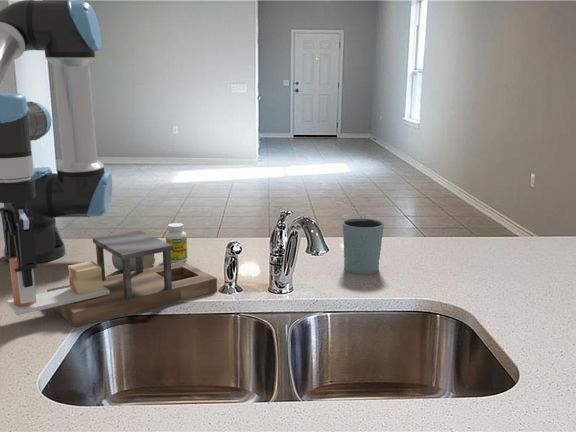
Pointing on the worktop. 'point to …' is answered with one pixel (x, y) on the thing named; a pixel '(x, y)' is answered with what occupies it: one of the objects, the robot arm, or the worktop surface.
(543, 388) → the worktop surface
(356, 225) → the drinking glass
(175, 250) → the supplement bottle
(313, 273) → the worktop surface
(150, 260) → the ceramic mug
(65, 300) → the white plank with peg
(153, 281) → the tunnel deck
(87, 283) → the maple block
